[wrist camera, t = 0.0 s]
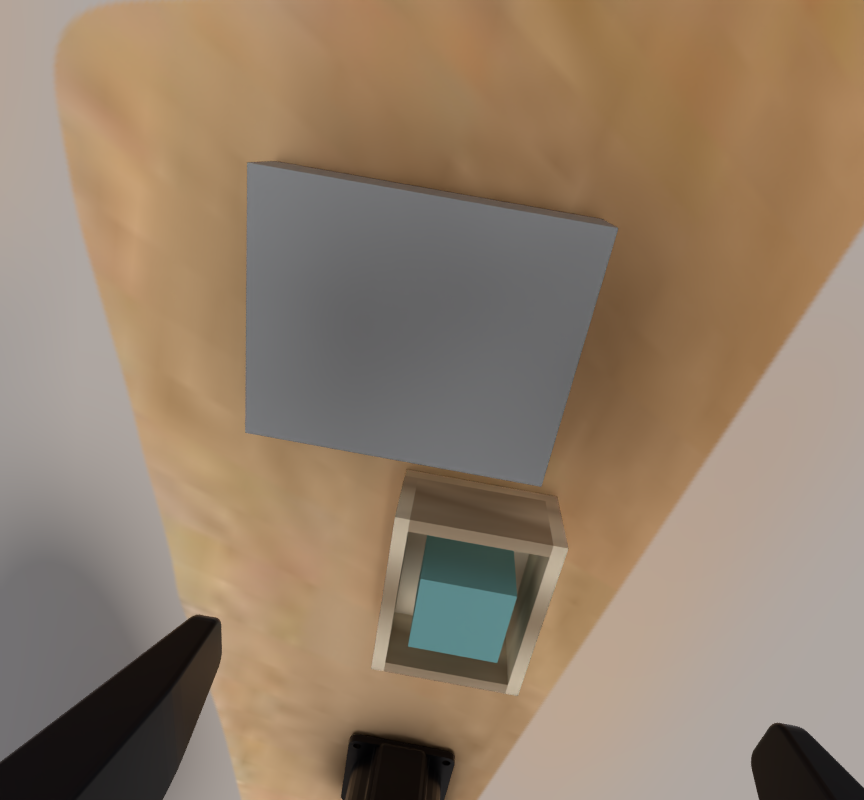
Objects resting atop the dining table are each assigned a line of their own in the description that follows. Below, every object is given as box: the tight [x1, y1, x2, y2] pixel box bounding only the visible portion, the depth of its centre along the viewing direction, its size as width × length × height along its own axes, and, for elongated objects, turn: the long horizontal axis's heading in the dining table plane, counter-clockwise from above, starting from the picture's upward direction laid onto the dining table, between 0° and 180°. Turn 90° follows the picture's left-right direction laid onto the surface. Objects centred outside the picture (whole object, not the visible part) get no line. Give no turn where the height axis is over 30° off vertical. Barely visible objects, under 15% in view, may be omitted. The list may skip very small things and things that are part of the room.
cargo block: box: [408, 535, 517, 663], centre depth 24 cm, size 4×4×4 cm
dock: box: [245, 161, 618, 487], centre depth 20 cm, size 10×12×2 cm
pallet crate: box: [371, 469, 568, 696], centre depth 25 cm, size 9×7×4 cm
